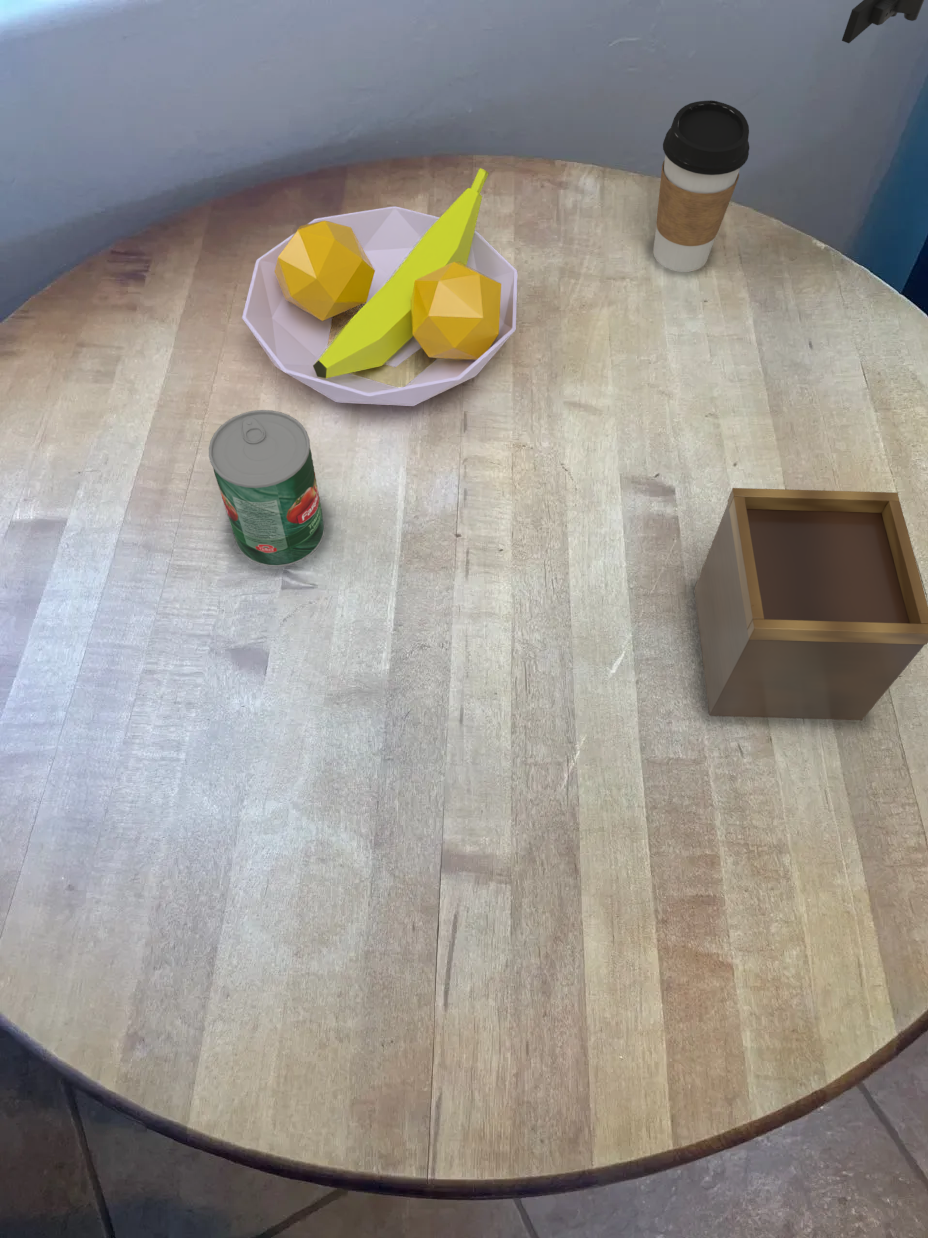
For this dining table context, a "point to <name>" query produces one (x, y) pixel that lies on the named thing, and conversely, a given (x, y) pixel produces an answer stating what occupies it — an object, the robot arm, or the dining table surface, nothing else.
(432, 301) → the fruit bowl
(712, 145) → the coffee cup
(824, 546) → the box
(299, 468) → the canned tomato
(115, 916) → the dining table surface
